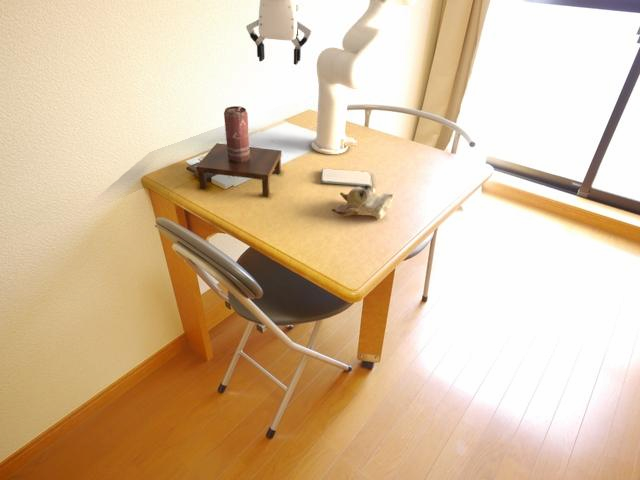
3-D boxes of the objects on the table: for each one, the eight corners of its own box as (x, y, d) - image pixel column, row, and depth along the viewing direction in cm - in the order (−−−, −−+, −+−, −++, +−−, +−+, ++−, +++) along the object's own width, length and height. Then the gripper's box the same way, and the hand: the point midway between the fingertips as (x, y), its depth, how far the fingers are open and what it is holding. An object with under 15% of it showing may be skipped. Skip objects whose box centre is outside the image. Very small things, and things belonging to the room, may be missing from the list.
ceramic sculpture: (391, 199, 97) (330, 191, 101) (387, 229, 102) (330, 220, 106) (397, 179, 106) (341, 172, 109) (393, 208, 111) (340, 200, 114)
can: (252, 154, 117) (249, 106, 109) (246, 164, 112) (243, 114, 104) (231, 152, 118) (227, 104, 109) (225, 162, 113) (220, 112, 104)
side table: (281, 171, 125) (281, 150, 121) (268, 197, 112) (268, 175, 108) (218, 164, 127) (216, 143, 122) (199, 189, 114) (195, 166, 110)
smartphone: (372, 184, 119) (321, 180, 119) (371, 187, 120) (321, 183, 120) (370, 171, 126) (322, 167, 126) (369, 174, 126) (321, 170, 126)
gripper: (314, -10, 104) (312, 61, 114) (249, -15, 105) (252, 56, 115) (309, -7, 98) (307, 68, 108) (240, -13, 99) (244, 62, 109)
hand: (278, 61), depth 112 cm, fingers open, 9 cm apart
